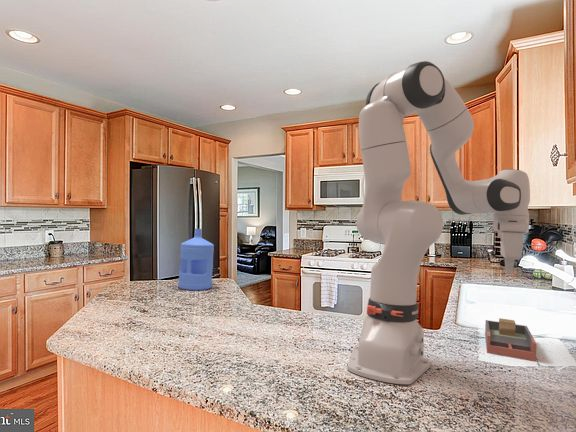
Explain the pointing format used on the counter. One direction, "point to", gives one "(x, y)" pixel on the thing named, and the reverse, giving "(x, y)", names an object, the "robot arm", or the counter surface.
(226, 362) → the counter surface
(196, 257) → the water jug
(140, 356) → the counter surface
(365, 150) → the robot arm
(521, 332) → the box
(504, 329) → the maple block
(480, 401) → the counter surface
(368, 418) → the counter surface
